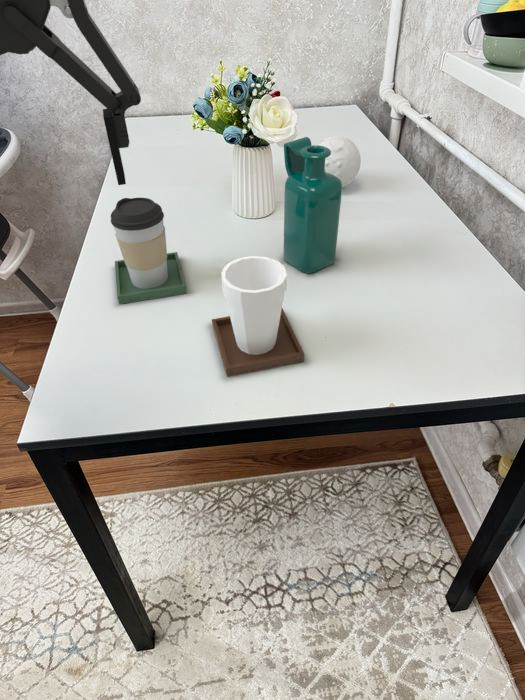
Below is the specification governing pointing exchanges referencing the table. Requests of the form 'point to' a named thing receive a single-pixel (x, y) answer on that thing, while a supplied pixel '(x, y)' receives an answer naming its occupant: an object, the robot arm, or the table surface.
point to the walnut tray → (242, 362)
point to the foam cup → (254, 301)
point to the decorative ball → (342, 158)
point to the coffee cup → (141, 240)
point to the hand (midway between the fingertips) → (53, 187)
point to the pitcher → (310, 207)
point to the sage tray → (134, 294)
